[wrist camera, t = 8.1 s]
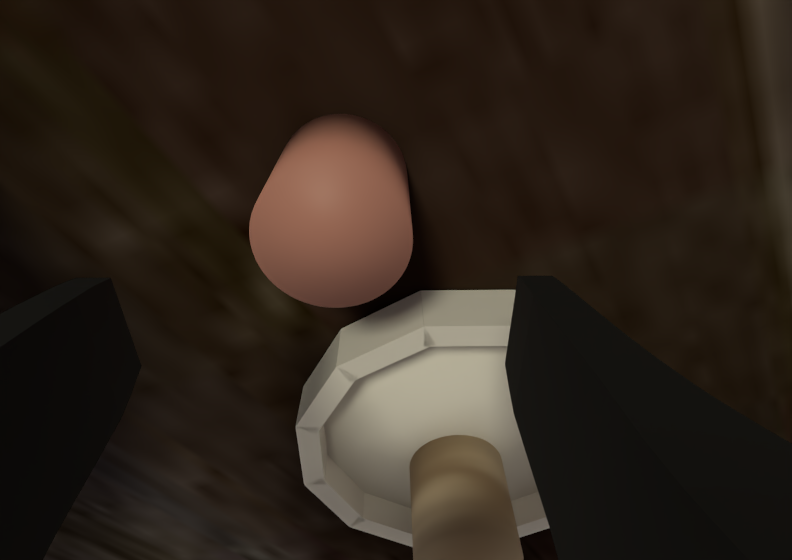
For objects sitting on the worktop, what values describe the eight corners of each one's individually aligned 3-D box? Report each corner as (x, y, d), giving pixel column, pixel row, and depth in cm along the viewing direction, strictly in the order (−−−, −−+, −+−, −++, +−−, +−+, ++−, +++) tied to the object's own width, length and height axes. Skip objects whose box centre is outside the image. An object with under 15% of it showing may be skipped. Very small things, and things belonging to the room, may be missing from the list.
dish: (319, 507, 24) (313, 549, 22) (290, 291, 18) (280, 327, 16) (577, 504, 24) (591, 545, 22) (643, 288, 18) (670, 324, 16)
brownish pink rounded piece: (286, 235, 16) (260, 308, 13) (272, 113, 14) (236, 163, 11) (406, 234, 16) (411, 307, 13) (408, 113, 14) (414, 162, 11)
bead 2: (403, 492, 22) (406, 589, 19) (416, 431, 20) (422, 528, 17) (490, 497, 22) (508, 594, 19) (511, 438, 20) (536, 534, 17)
